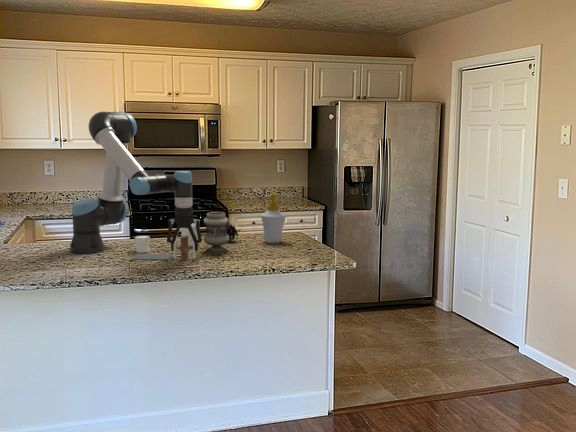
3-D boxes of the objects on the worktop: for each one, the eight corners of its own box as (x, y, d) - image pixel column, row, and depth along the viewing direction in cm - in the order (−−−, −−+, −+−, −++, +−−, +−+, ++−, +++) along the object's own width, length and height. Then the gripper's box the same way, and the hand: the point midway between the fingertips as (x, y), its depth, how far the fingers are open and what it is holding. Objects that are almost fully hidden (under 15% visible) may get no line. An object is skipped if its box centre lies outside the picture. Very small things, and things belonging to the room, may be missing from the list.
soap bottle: (285, 244, 283) (285, 195, 279) (259, 244, 283) (259, 195, 279) (285, 239, 296) (286, 192, 292) (261, 239, 296) (261, 192, 292)
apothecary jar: (198, 250, 267) (197, 212, 264) (218, 246, 276) (217, 210, 273) (215, 254, 259) (214, 215, 256) (234, 250, 268) (234, 212, 265)
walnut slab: (180, 260, 248) (180, 237, 246) (183, 257, 254) (182, 235, 252) (186, 260, 248) (185, 237, 246) (188, 257, 254) (188, 235, 252)
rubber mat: (130, 259, 248) (130, 258, 248) (136, 254, 257) (136, 253, 257) (167, 260, 248) (167, 259, 248) (172, 254, 258) (172, 254, 257)
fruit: (213, 246, 291) (240, 238, 296) (217, 247, 281) (245, 238, 286) (207, 227, 291) (235, 219, 295) (210, 227, 281) (239, 218, 285)
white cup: (153, 250, 266) (152, 235, 265) (144, 253, 260) (144, 238, 259) (140, 249, 269) (140, 234, 268) (132, 252, 262) (131, 237, 261)
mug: (178, 248, 272) (177, 227, 270) (171, 245, 279) (171, 224, 277) (201, 245, 278) (201, 225, 276) (194, 243, 285) (194, 222, 283)
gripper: (158, 207, 243) (159, 259, 247) (206, 208, 244) (206, 260, 247) (162, 205, 251) (163, 256, 254) (208, 205, 251) (209, 256, 254)
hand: (184, 257), depth 251 cm, fingers open, 8 cm apart
